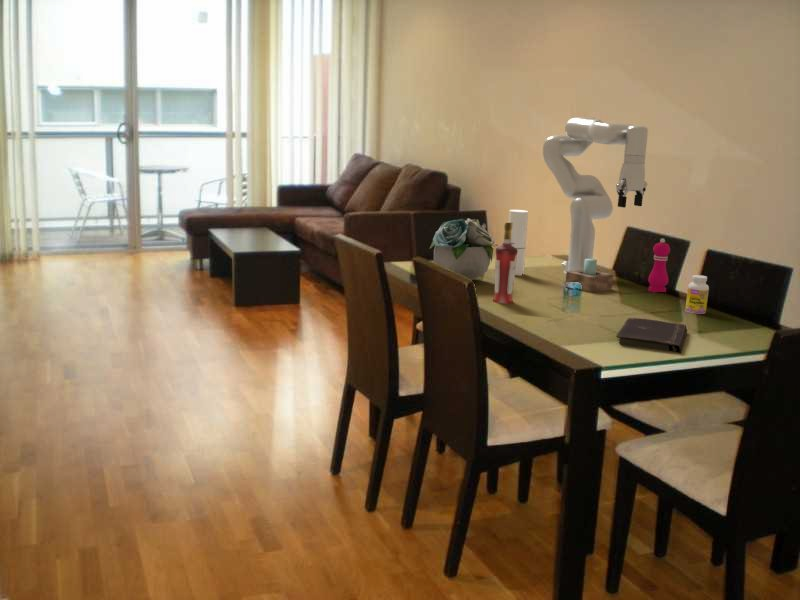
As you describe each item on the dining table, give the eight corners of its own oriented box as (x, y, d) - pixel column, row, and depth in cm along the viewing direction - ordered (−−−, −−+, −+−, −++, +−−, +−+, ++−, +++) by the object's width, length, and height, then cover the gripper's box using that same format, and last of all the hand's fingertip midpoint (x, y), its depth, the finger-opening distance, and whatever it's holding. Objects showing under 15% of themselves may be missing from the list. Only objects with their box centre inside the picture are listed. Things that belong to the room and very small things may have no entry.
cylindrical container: (510, 271, 365) (515, 209, 359) (526, 274, 361) (531, 211, 355) (501, 273, 359) (506, 210, 353) (517, 276, 355) (522, 212, 349)
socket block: (565, 287, 339) (566, 271, 338) (586, 284, 347) (587, 268, 345) (590, 293, 330) (592, 277, 329) (611, 290, 338) (613, 274, 336)
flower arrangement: (501, 290, 329) (506, 223, 324) (434, 290, 325) (437, 222, 320) (484, 276, 353) (488, 213, 348) (421, 275, 349) (424, 212, 343)
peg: (579, 285, 338) (582, 259, 336) (587, 284, 341) (589, 258, 339) (589, 288, 335) (591, 261, 333) (596, 286, 338) (599, 260, 335)
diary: (686, 340, 275) (688, 323, 274) (680, 361, 252) (682, 344, 251) (623, 331, 281) (625, 316, 280) (611, 352, 258) (613, 335, 257)
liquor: (493, 301, 312) (498, 220, 305) (514, 303, 310) (520, 221, 304) (490, 306, 305) (496, 223, 298) (512, 308, 303) (518, 224, 297)
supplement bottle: (684, 314, 305) (688, 277, 302) (685, 310, 311) (689, 273, 308) (705, 317, 303) (709, 279, 300) (705, 312, 309) (710, 275, 306)
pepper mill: (662, 294, 334) (668, 240, 329) (643, 291, 338) (649, 238, 334) (670, 291, 340) (676, 238, 335) (651, 288, 344) (657, 236, 339)
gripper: (640, 158, 343) (635, 204, 347) (611, 159, 333) (606, 206, 337) (657, 160, 338) (652, 206, 342) (628, 161, 327) (623, 208, 331)
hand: (629, 206), depth 339 cm, fingers open, 9 cm apart
